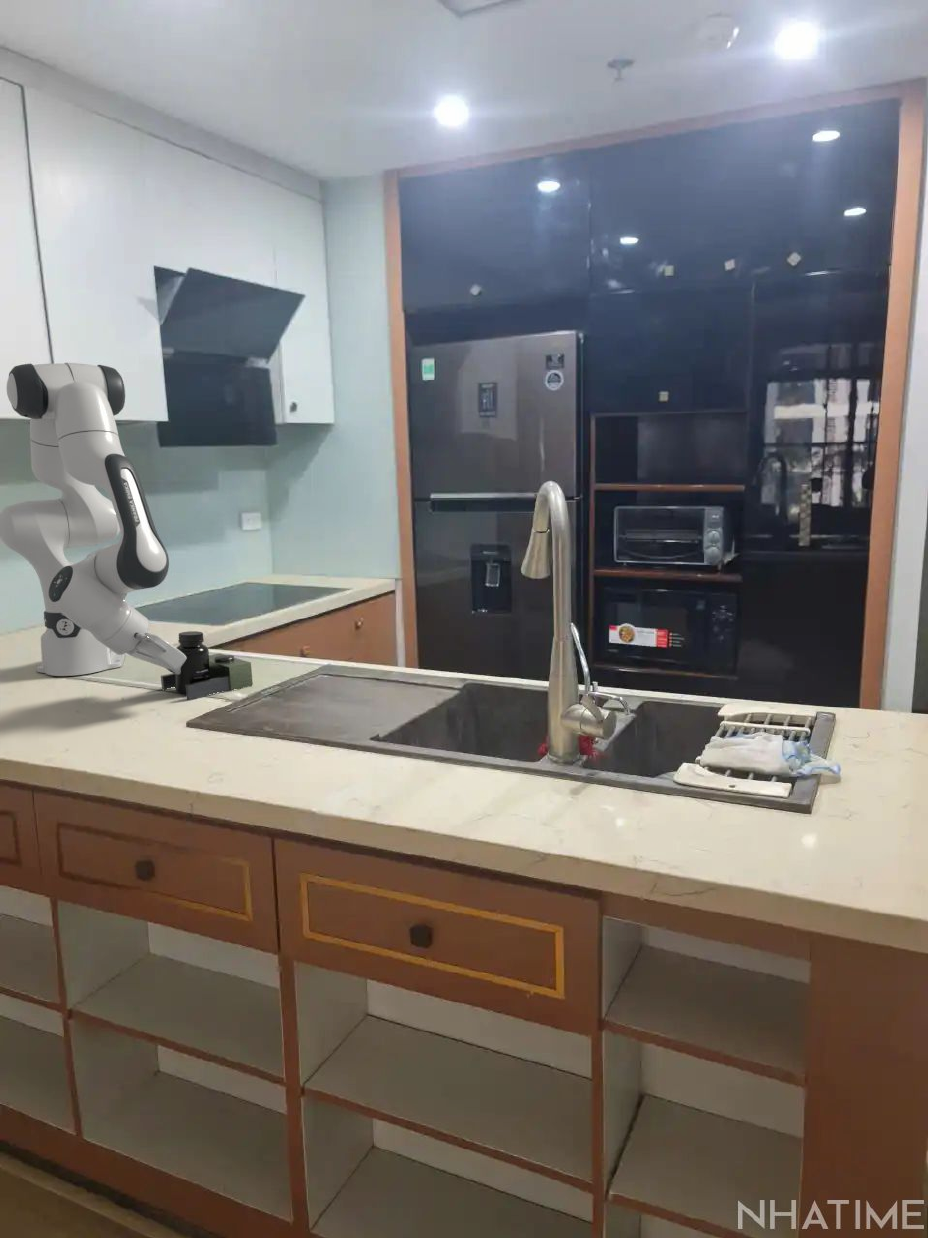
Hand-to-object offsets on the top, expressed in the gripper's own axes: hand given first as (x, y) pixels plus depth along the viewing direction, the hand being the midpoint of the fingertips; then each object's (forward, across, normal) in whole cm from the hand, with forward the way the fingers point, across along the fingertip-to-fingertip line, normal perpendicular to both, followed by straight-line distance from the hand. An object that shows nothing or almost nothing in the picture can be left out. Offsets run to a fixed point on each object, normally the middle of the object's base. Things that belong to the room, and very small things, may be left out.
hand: (178, 670), depth 178 cm
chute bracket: (+8, 0, -1) cm, 8 cm away
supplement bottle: (+5, 0, +2) cm, 6 cm away
